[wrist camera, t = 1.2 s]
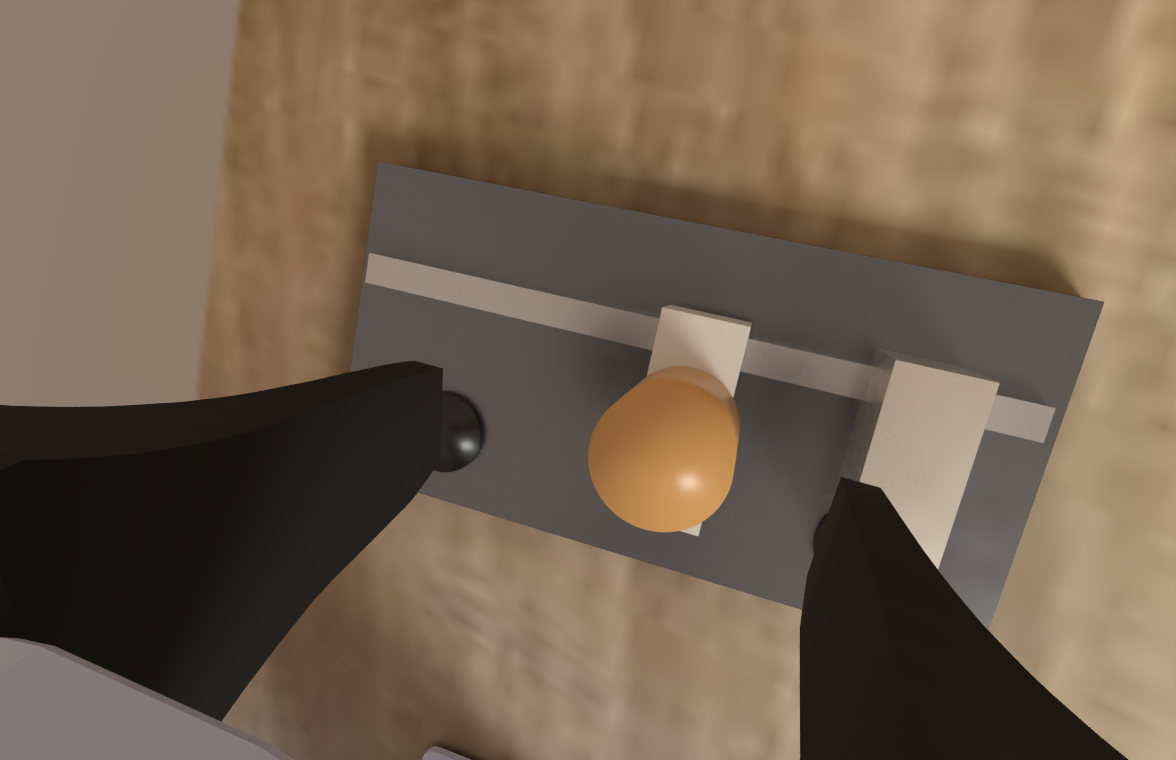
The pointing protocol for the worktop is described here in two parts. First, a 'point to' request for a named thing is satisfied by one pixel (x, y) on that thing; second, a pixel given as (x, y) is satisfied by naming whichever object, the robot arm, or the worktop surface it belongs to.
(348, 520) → the robot arm
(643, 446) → the block with orange knob
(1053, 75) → the worktop surface
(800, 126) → the worktop surface
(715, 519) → the hole plate
